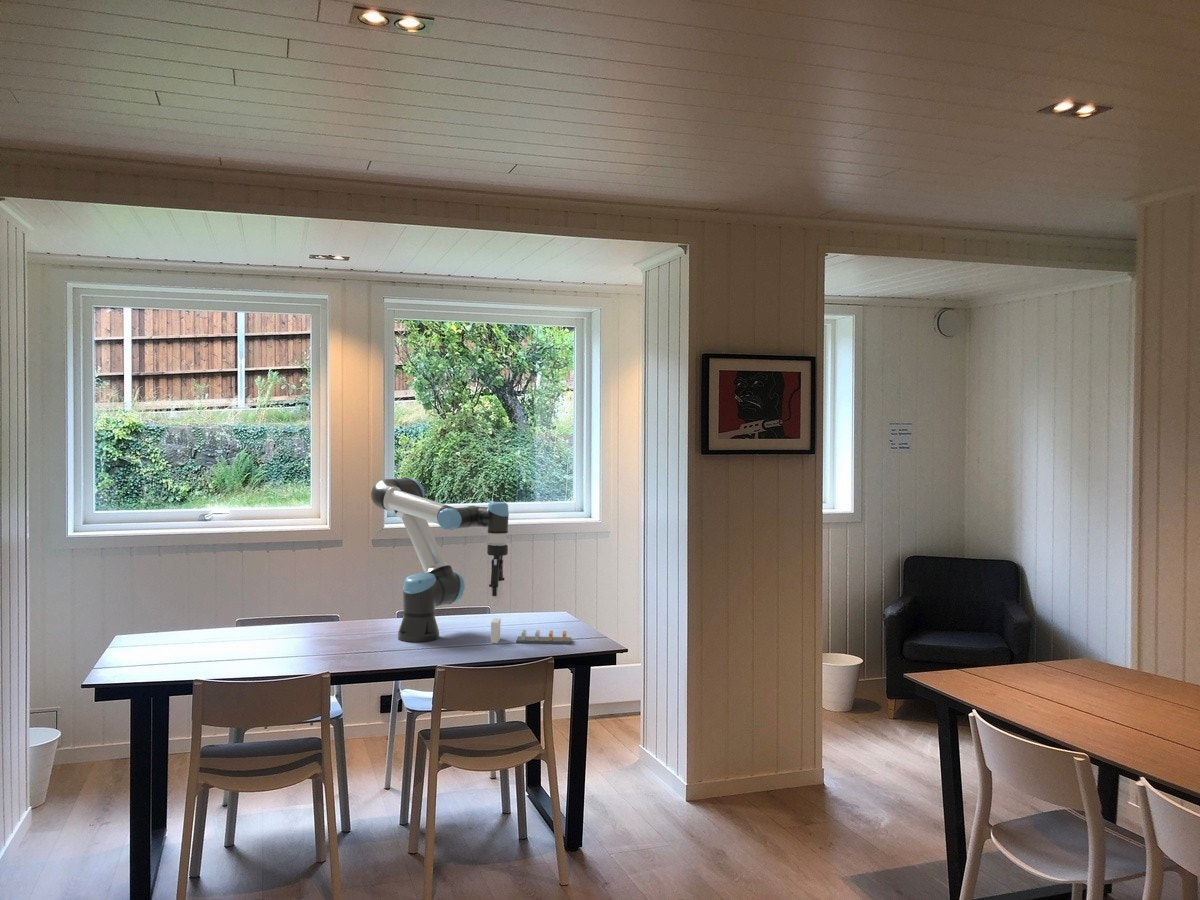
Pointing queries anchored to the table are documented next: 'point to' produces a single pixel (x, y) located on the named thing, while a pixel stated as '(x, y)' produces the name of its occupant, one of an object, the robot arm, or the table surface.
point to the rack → (544, 638)
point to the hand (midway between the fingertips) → (496, 601)
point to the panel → (495, 630)
